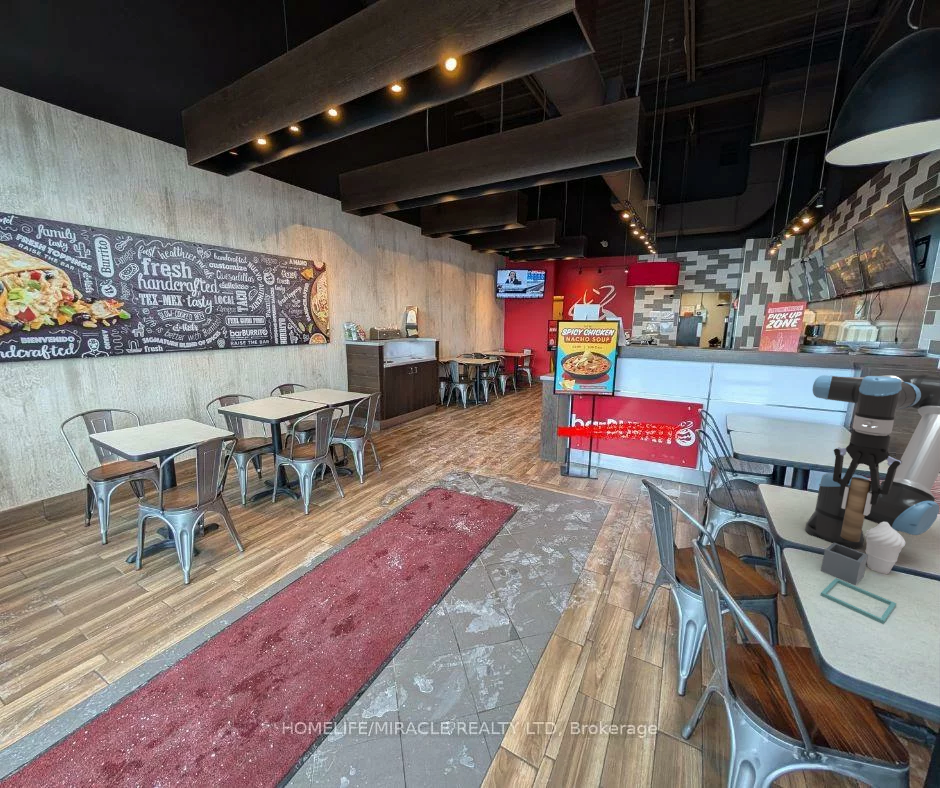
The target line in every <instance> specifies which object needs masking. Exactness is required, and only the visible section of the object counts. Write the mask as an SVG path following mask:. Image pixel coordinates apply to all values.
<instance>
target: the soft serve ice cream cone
mask: <svg viewBox="0 0 940 788" xmlns="http://www.w3.org/2000/svg"><path fill="white" fill-rule="evenodd" d="M864 537H866V538H865V542H866V546H865V548H866V549H865V554H867V555H868V558H867V563H866V566H867V567H868V569H870V570H873V572H877V573H880V574H887V575H888V574H890V572H891V571H892V569H893V567H894V565H895V564H896V563H897V562H898V559H899V555H900V553H901V552H902V549H903V548H904V547H905V545H906V540H905V538H904V537H903V536H902V535H901V533H899V531H896V530H894V529H893V528H892V527H891V526H890V525H889V523H888V522H881V523H880V524H877V525H876V526H875V527H871V528H869V529H867V530H865V533H864Z"/></svg>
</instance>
